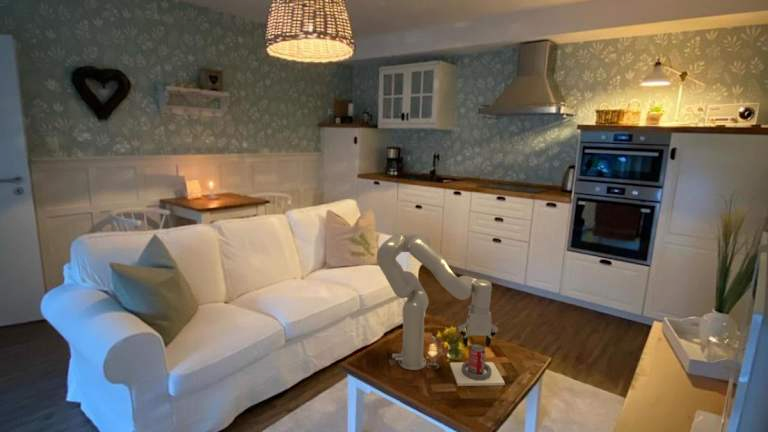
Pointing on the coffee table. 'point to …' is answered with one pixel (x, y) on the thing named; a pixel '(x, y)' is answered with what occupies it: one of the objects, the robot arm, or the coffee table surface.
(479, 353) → the soda can
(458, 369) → the collar board
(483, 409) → the coffee table surface
